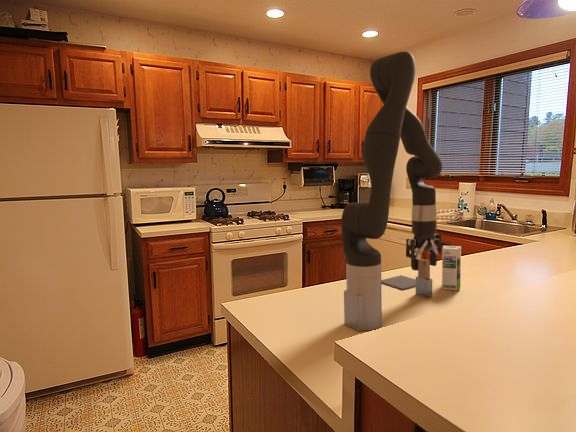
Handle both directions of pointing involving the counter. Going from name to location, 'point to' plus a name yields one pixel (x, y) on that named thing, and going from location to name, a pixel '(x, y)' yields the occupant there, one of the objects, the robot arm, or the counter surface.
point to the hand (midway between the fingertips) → (424, 267)
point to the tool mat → (400, 282)
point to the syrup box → (451, 267)
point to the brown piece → (424, 279)
